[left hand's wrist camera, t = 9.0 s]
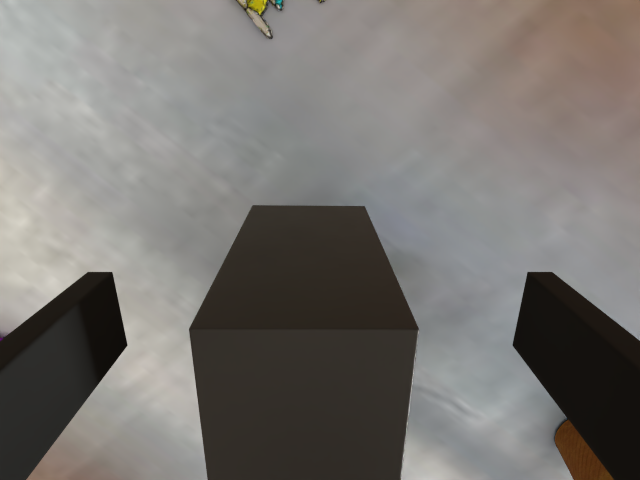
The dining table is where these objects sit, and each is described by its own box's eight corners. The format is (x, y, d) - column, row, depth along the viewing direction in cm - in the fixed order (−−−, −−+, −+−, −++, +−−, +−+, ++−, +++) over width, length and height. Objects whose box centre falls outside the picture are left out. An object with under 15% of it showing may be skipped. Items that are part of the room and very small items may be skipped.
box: (252, 205, 22) (188, 328, 11) (364, 205, 22) (419, 328, 11) (265, 471, 29) (236, 712, 18) (350, 471, 29) (373, 709, 18)
